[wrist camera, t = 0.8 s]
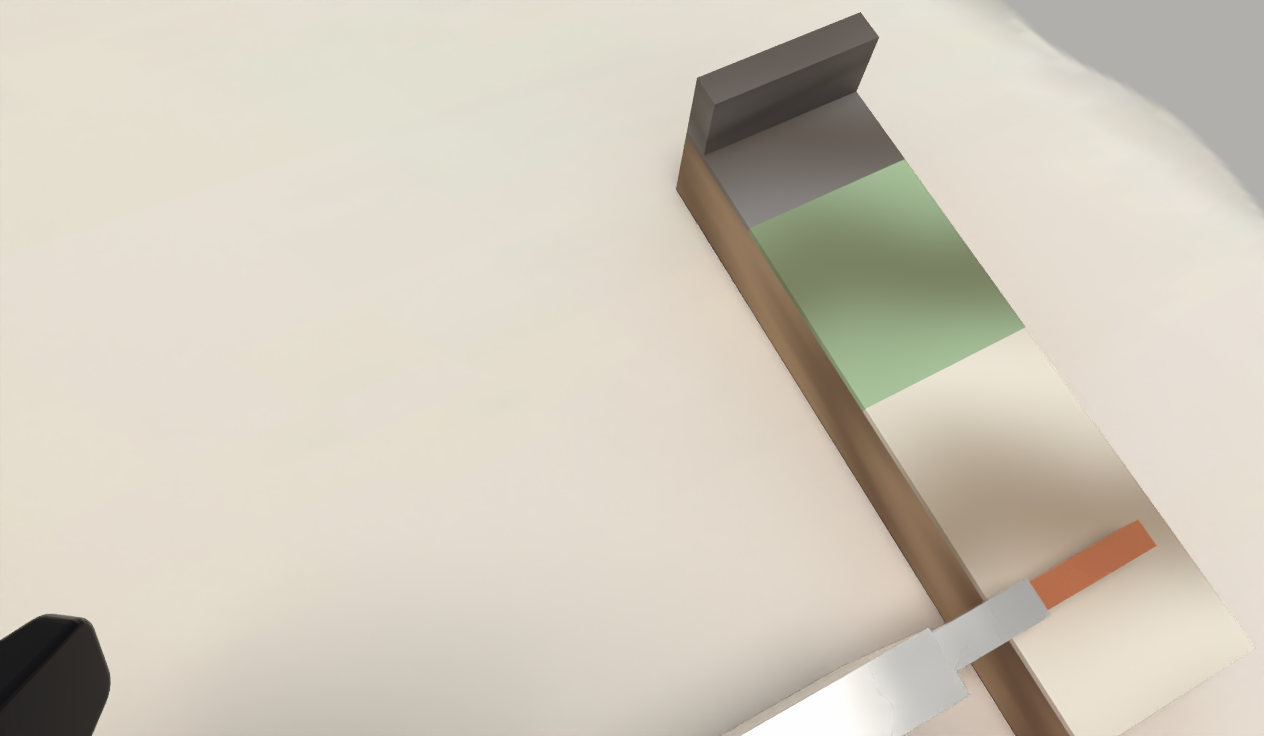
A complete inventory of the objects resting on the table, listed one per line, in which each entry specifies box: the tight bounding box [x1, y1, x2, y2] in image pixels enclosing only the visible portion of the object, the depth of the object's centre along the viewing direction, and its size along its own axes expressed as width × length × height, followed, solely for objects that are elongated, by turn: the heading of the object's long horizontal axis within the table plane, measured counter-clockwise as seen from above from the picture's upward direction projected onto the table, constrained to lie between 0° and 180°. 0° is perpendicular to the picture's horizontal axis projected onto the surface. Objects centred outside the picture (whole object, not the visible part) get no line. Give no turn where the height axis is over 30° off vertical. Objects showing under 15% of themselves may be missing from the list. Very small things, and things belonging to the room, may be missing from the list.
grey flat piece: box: [721, 520, 1157, 736], centre depth 19 cm, size 1×14×6 cm, turn 118°
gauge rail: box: [676, 12, 1256, 736], centre depth 23 cm, size 16×4×5 cm, turn 28°
